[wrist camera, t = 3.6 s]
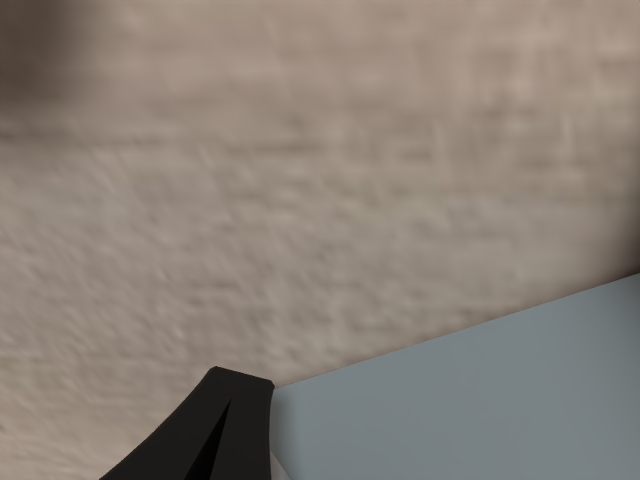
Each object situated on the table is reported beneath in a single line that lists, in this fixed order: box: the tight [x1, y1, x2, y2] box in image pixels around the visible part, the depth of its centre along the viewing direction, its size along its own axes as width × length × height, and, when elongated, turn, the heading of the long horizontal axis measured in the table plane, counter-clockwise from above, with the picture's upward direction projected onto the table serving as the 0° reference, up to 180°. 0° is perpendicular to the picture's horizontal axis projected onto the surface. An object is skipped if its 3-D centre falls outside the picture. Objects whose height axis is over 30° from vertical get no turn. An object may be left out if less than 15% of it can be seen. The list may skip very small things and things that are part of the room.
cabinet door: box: [269, 273, 640, 480], centre depth 12 cm, size 16×2×6 cm, turn 118°
